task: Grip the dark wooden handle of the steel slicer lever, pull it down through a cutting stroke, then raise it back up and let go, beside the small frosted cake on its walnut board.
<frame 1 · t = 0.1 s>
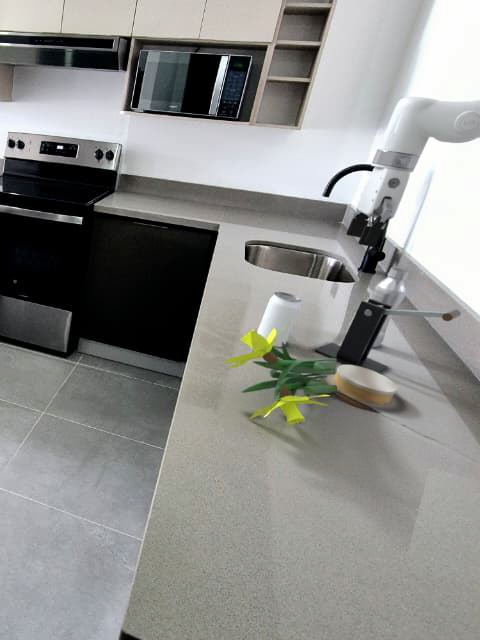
hand: (359, 240, 112), 26 cm above the worktop, tool pointing down, fingers open, 9 cm apart
can: (268, 343, 119), on the worktop
slicer: (348, 362, 115), on the worktop
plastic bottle: (363, 345, 126), on the worktop
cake: (358, 393, 101), on the worktop, touching daffodil flowers
slicer lever: (408, 313, 104), point 15 cm above the worktop, hinge at 20.0°
daffodil flowers: (279, 402, 93), on the worktop, touching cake
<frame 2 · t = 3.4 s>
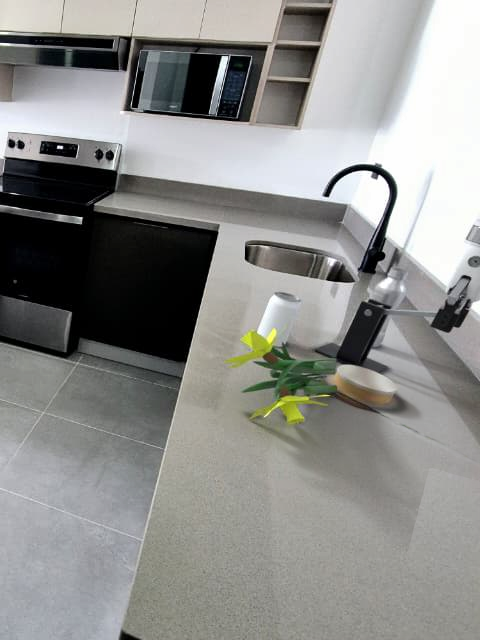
hand: (445, 326, 100), 15 cm above the worktop, tool pointing down, fingers closed on slicer lever, 5 cm apart
slicer lever: (408, 313, 104), point 15 cm above the worktop, hinge at 20.0°, touching gripper
everything else where it was.
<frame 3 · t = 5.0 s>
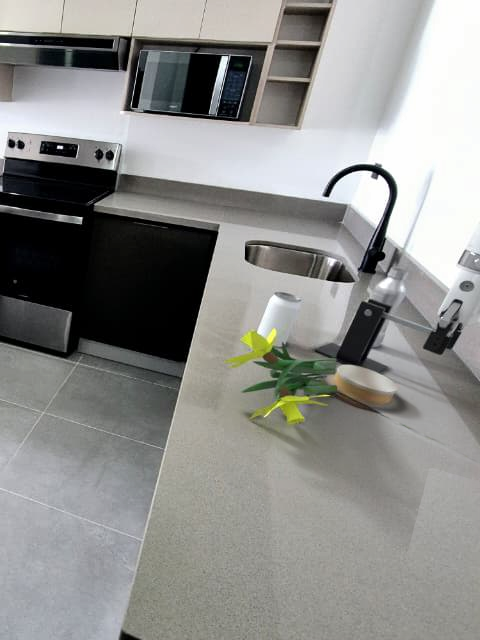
hand: (437, 348, 101), 10 cm above the worktop, tool pointing down, fingers closed on slicer lever, 5 cm apart
slicer lever: (406, 322, 105), point 13 cm above the worktop, hinge at 0.1°, touching gripper
everything else where it was.
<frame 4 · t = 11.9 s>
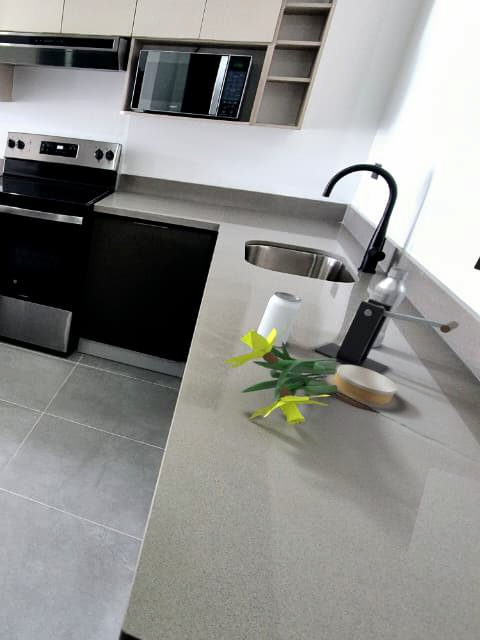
slicer lever: (407, 318, 105), point 14 cm above the worktop, hinge at 9.6°
everything else where it was.
at the end: slicer lever reached -13° during the clip, +10° at the end; slicer lever at +10° (first picture: +20°); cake moved 0.0 cm from its start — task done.
